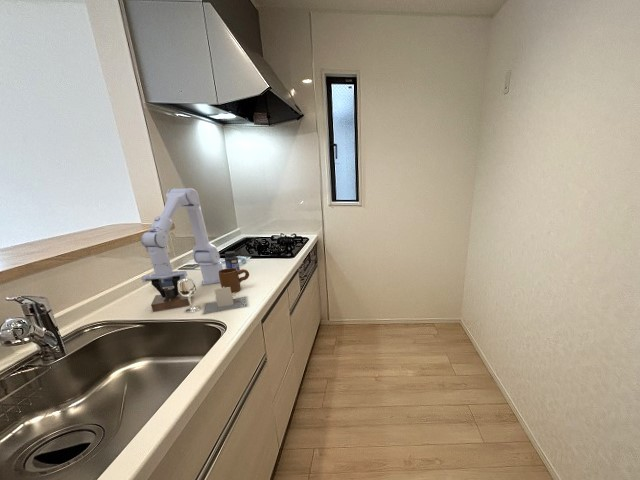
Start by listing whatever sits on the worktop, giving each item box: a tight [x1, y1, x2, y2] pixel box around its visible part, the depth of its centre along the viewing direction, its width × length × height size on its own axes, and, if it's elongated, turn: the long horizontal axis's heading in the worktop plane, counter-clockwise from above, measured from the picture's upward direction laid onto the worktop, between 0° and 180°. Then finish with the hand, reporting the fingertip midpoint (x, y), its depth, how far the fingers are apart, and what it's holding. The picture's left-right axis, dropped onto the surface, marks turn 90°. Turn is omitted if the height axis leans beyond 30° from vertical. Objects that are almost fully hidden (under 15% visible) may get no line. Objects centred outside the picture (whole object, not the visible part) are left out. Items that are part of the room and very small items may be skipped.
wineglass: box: [177, 278, 200, 313], centre depth 118 cm, size 6×6×12 cm
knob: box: [163, 286, 176, 299], centre depth 124 cm, size 4×4×4 cm
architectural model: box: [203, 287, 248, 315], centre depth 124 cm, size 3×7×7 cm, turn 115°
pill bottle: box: [224, 250, 241, 271], centre depth 162 cm, size 6×6×11 cm
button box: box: [161, 276, 187, 288], centre depth 149 cm, size 10×10×4 cm
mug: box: [219, 268, 250, 293], centre depth 138 cm, size 12×8×9 cm, turn 111°
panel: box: [150, 294, 192, 313], centre depth 126 cm, size 12×11×3 cm
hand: (170, 295), depth 125 cm, fingers closed on knob, 4 cm apart
